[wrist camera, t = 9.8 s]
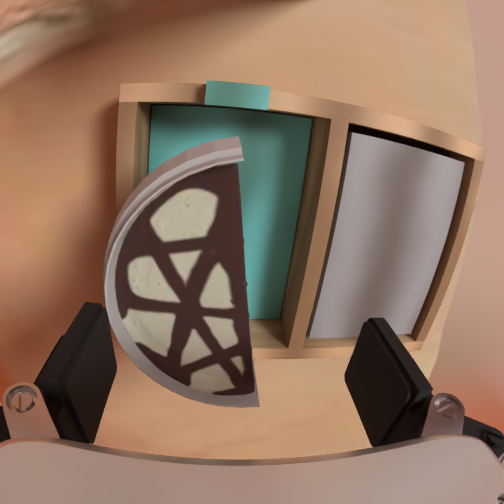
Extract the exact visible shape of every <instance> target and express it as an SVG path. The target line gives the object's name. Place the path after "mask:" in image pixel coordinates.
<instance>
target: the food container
mask: <svg viewBox="0 0 504 504" xmlns="http://www.w3.org/2000/svg"><path fill="white" fill-rule="evenodd" d="M238 161H244V158H243V155H242V147H241V143H240V139H239V136H236V137H230V138H224V139H218V140H213V141H210V142H207V143H204V144H201V145H198V146H195V147H192V148H190V149H187V150H185V151H183V152H181V153H180V154H178V155H176V156H174V157H172V158H171V159H169V160H167V161H165V162H164V163H162V164H161V165H160V166H159V167H157V168H156V169H155V170H154V171H153V172H151V173H150V174H149V175H148V176H147V177H145V178H144V179H143V180H142V182H141V183H140V184H139V185H138V186H137V187H136V189H135V190H134V191H133V192H132V193H131V194H130V196H129V197H128V198H127V200H126V202H125V204H124V205H123V207H122V209H121V211H120V212H119V214H118V216H117V218H116V221H115V223H114V226H113V229H112V232H111V235H110V238H109V242H108V246H107V250H106V254H105V260H104V268H103V293H104V299H105V303H106V309H107V313H108V317H109V320H110V324H111V327H112V329H113V331H114V333H115V335H116V338H117V340H118V342H119V343H120V345H121V346H122V348H123V349H124V351H125V352H126V354H127V355H128V357H129V358H130V359H131V360H132V361H133V362H134V363H135V364H136V365H137V366H138V367H139V368H140V370H141V371H143V372H144V373H145V374H146V375H148V376H149V377H150V378H151V379H153V380H154V381H155V382H157V383H158V384H160V385H162V386H163V387H165V388H167V389H169V390H170V391H172V392H174V393H177V394H179V395H181V396H184V397H186V398H188V399H192V400H195V401H198V402H202V403H205V404H211V405H217V406H223V407H240V408H246V407H260V405H259V398H258V391H257V384H256V377H255V369H254V362H253V355H252V346H251V338H250V326H249V317H250V315H249V311H248V299H247V286H248V283H247V281H246V273H245V270H246V267H245V255H244V238H243V223H242V209H241V195H240V183H239V171H238Z"/></svg>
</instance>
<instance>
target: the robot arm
mask: <svg viewBox="0 0 504 504" xmlns="http://www.w3.org/2000/svg"><path fill="white" fill-rule="evenodd" d="M116 371H117V364H116V359H115V354H114V349H113V344H112V338H111V332H110V327H109V321H108V314H107V310H106V309H105V308H103V307H102V305H101V304H98V303H90V302H86V303H85V304H84V305H83V307H82V308H81V310H80V311H79V313H78V314H77V316H76V318H75V319H74V321H73V322H72V324H71V325H70V327H69V329H68V330H67V332H66V334H65V335H62V336H61V338H60V339H59V341H58V342H57V344H56V346H55V347H54V349H53V351H52V352H51V354H50V356H49V357H48V359H47V361H46V362H45V364H44V366H43V368H42V369H41V371H40V373H39V375H38V377H37V378H36V380H35V382H34V384H32V383H29V382H19V383H15V384H13V385H11V386H10V387H9V388H7V389H6V391H5V392H4V394H3V397H2V406H0V504H504V435H503V434H502V433H501V432H500V431H499V430H497V429H496V428H493V427H491V426H488V425H486V424H483V423H481V422H479V421H476V420H474V419H471V418H469V417H467V416H465V408H464V406H463V403H462V402H461V401H460V400H459V399H458V398H457V397H456V396H454V395H452V394H449V393H438V394H436V395H434V396H433V395H432V393H431V392H432V390H433V388H432V387H431V385H430V384H429V382H428V380H427V379H426V377H425V376H424V374H423V373H422V371H421V370H420V368H419V367H418V365H417V364H416V362H415V361H414V359H413V358H412V357H411V355H410V354H409V352H408V351H407V349H406V348H405V346H404V345H403V343H402V342H401V341H400V339H399V338H398V336H397V335H396V334H395V332H394V331H393V329H392V328H391V326H390V325H389V324H388V322H387V321H386V320H385V318H382V317H379V318H369V319H368V320H367V321H366V322H364V323H363V325H362V328H361V331H360V334H359V337H358V340H357V342H356V345H355V348H354V351H353V353H352V356H351V359H350V361H349V364H348V367H347V369H346V372H345V382H346V385H347V387H348V390H349V392H350V394H351V397H352V399H353V402H354V404H355V406H356V409H357V411H358V414H359V416H360V419H361V421H362V424H363V426H364V429H365V431H366V434H367V436H368V439H369V441H370V444H371V445H372V446H373V447H372V448H367V449H361V450H355V451H349V452H342V453H335V454H327V455H318V456H308V457H297V458H282V459H258V460H224V459H199V458H184V457H172V456H163V455H154V454H146V453H139V452H132V451H126V450H119V449H113V448H108V447H102V446H97V445H92V444H93V443H94V441H95V438H96V434H97V431H98V428H99V424H100V421H101V418H102V415H103V411H104V408H105V405H106V402H107V399H108V396H109V393H110V390H111V387H112V384H113V381H114V378H115V375H116ZM89 443H92V444H89Z"/></svg>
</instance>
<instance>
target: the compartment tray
mask: <svg viewBox="0 0 504 504" xmlns="http://www.w3.org/2000/svg"><path fill="white" fill-rule="evenodd" d="M152 104H188V105H208V106H222V107H235V108H245V109H255V110H264V111H272V112H279V113H286V114H293V115H300V116H306V117H312V118H313V122H312V119H309V118H303V117H297V116H290V115H283V114H276V113H268V112H259V111H250V110H240V109H229V108H216V107H199V106H173V105H152ZM151 106H152V117H151ZM150 119H151V131H150ZM311 125H312V130H311ZM348 125H354V126H358V127H363V128H367V129H371V130H376V131H380V132H384V133H388V134H392V135H395V136H399V137H403V138H407V139H410V140H414V141H417V142H421V143H424V144H427V145H430V146H434V147H437V148H440V149H443V150H446V151H445V156H442V155H439V154H436V153H433V152H429V151H426V150H422V149H419V148H415V147H412V146H408V145H404V144H400V143H396V142H393V141H389V140H384V139H380V138H376V137H372V136H367V135H363V134H358V133H353V132H348ZM310 132H311V137H310ZM149 133H150V148H149ZM236 136H239V139H240V143H241V147H242V155H243V158H244V161H238V171H239V183H240V195H241V209H242V223H243V238H244V255H245V267H246V270H245V273H246V281H247V283H248V286H247V299H248V311H249V315H250V317H249V326H250V338H251V346H252V355H253V359H304V358H331V357H349V356H352V353H353V351H354V348H355V345H356V342H357V340H358V337H359V334H360V331H361V328H362V325H363V323H364V322H366V321H367V320H368V319H369V318H379V317H382V318H385V320H386V321H387V322H388V324H389V325H390V326H391V328H392V329H393V331H394V332H395V334H396V335H397V336H398V338H399V339H400V341H401V342H402V343H403V345H404V346H405V348H406V349H407V351H415V350H420V349H421V347H422V345H423V343H424V341H425V339H426V337H427V334H428V332H429V330H430V328H431V326H432V324H433V321H434V319H435V317H436V315H437V312H438V310H439V308H440V305H441V303H442V300H443V298H444V295H445V293H446V290H447V288H448V285H449V283H450V280H451V277H452V275H453V272H454V269H455V266H456V264H457V261H458V258H459V255H460V252H461V249H462V246H463V242H464V239H465V236H466V233H467V229H468V226H469V222H470V219H471V215H472V212H473V208H474V204H475V200H476V196H477V191H478V187H479V183H480V178H481V173H482V168H483V163H484V158H485V152H486V149H485V148H483V147H481V146H478V145H476V144H474V143H471V142H469V141H466V140H464V139H461V138H459V137H456V136H453V135H451V134H448V133H445V132H442V131H440V130H437V129H434V128H431V127H428V126H425V125H422V124H419V123H416V122H413V121H410V120H406V119H403V118H400V117H396V116H393V115H389V114H386V113H382V112H378V111H375V110H371V109H367V108H363V107H359V106H354V105H350V104H346V103H341V102H337V101H332V100H327V99H322V98H317V97H311V96H305V95H300V94H293V93H287V92H280V91H273V90H270V86H262V85H254V84H245V83H234V82H222V81H207V84H195V83H124V84H121V85H120V96H119V108H118V124H117V146H116V213H117V216H118V214H119V212H120V211H121V209H122V207H123V205H124V204H125V202H126V200H127V198H128V197H129V196H130V194H131V193H132V192H133V191H134V190H135V189H136V187H137V186H138V185H139V184H140V183H141V182H142V180H143V179H144V178H145V177H147V176H148V175H149V174H150V173H151V172H153V171H154V170H155V169H156V168H157V167H159V166H160V165H161V164H162V163H164V162H165V161H167V160H169V159H171V158H172V157H174V156H176V155H178V154H180V153H181V152H183V151H185V150H187V149H190V148H192V147H195V146H198V145H201V144H204V143H207V142H210V141H213V140H218V139H224V138H230V137H236ZM309 140H310V144H309ZM308 147H309V151H308ZM148 151H149V173H148ZM307 154H308V158H307ZM306 161H307V165H306ZM305 167H306V172H305ZM304 174H305V178H304ZM303 181H304V185H303ZM302 187H303V191H302ZM301 194H302V198H301ZM300 200H301V204H300ZM299 206H300V210H299ZM298 213H299V217H298ZM297 219H298V223H297ZM296 225H297V229H296ZM295 231H296V235H295ZM294 237H295V240H294ZM293 243H294V246H293ZM292 248H293V252H292ZM291 254H292V258H291ZM290 260H291V263H290ZM289 266H290V269H289ZM288 271H289V274H288ZM287 277H288V280H287ZM286 282H287V285H286ZM285 288H286V291H285ZM284 293H285V296H284ZM283 298H284V301H283ZM282 304H283V307H282ZM281 309H282V312H281ZM280 314H281V317H280Z"/></svg>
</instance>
